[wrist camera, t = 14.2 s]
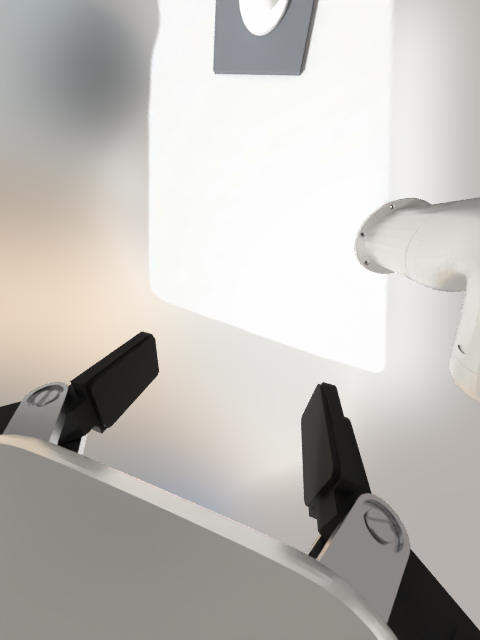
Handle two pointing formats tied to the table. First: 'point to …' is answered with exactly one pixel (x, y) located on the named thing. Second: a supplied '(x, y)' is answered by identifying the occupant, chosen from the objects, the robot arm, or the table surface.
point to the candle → (262, 14)
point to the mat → (260, 41)
